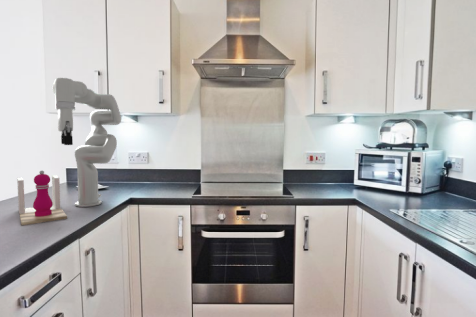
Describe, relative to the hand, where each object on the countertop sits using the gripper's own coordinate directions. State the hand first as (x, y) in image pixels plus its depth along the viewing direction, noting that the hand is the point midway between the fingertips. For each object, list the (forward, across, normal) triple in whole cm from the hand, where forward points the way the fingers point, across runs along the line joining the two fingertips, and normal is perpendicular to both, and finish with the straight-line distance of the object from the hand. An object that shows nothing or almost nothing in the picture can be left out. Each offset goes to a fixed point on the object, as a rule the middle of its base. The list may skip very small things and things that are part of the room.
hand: (66, 144), depth 127 cm
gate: (+33, -17, -11) cm, 39 cm away
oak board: (+33, -1, -10) cm, 34 cm away
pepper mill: (+32, -1, -10) cm, 33 cm away
